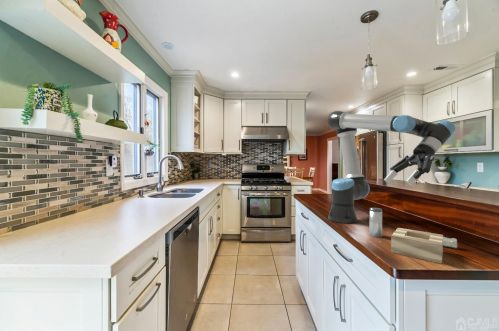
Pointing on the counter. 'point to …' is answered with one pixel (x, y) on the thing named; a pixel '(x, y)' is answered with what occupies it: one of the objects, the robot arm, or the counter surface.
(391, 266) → the counter surface
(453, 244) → the pipe fitting
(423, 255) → the socket block
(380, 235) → the capped cylinder
